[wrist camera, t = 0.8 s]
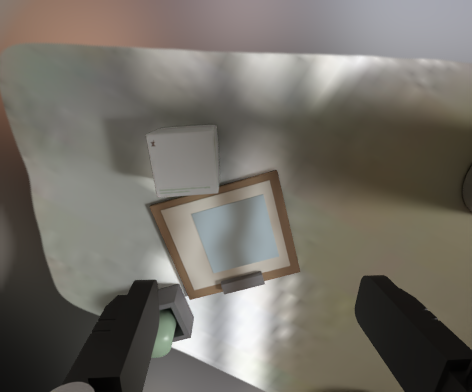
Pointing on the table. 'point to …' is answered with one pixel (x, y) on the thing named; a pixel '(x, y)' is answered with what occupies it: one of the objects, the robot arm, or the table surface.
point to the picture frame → (229, 236)
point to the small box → (185, 160)
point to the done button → (164, 333)
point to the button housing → (177, 310)
